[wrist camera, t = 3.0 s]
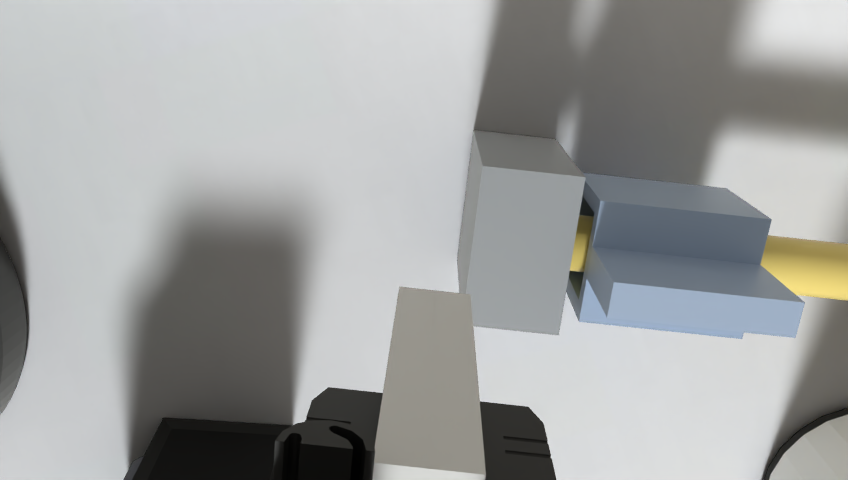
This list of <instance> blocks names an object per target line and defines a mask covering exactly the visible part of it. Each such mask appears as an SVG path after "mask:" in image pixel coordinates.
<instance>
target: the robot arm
mask: <svg viewBox="0 0 848 480" xmlns="http://www.w3.org/2000/svg"><path fill="white" fill-rule="evenodd" d="M26 340H27V323H26V312H25V306H24V300H23V295H22V291H21V287H20V283H19V280H18V277H17V274H16V271H15V268H14V266H13V264H12V261H11V259H10V256H9V254H8V252H7V250H6V248H5V246H4V244H3V242H2V241H1V239H0V415H1V413H2V412H3V411H4V409H5V408H6V406H7V404H8V402H9V401H10V399H11V397H12V395H13V393H14V391H15V389H16V386H17V384H18V381H19V378H20V375H21V371H22V367H23V364H24V358H25V352H26ZM550 456H551V454H550V450H549V445H548V444H547V437H546V432H545V428H544V424H543V422H542V421H541V420H540V419H539V418H538V417H537V416H536V415H535V414H534V413H533V411H532V410H531V409H530V408H529V407H525V406H516V405H506V404H497V403H488V402H480V399H479V387H478V376H477V364H476V352H475V341H474V329H473V317H472V305H471V294H462V293H452V292H443V291H434V290H425V289H416V288H407V287H399V293H398V299H397V306H396V312H395V319H394V325H393V331H392V338H391V344H390V351H389V357H388V364H387V370H386V377H385V383H384V390H383V393H376V392H367V391H358V390H348V389H339V388H330V387H328V388H327V389H326V390H325V391H323V392H322V393H321V394H320V395H318V396H317V397H316V398H314V399H313V400H312V402H311V405H310V408H309V411H308V414H307V418H306V420H305V422H302V423H298V424H295V425H293V426H291V427H289V428H287V429H285V430H283V431H282V432H281V434H280V435H279V436H278V437H277V439H276V440H275V450H274V467H273V480H556V476H555V472H554V467H553V463H552V459H551V458H550Z"/></svg>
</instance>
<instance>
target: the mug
mask: <svg viewBox="0 0 848 480" xmlns="http://www.w3.org/2000/svg"><path fill="white" fill-rule="evenodd" d="M765 480H848V408H847V409H844V410H841V411H838V412H835V413H832V414H829V415H826V416H823V417H821V418H819V419H817V420H815V421H814V422H812V423H810V424H809V425H807V426H805V427H804V428H802V429H800V430H799V431H798V432H797V433H796V434H795V435H794V436H793V437H791V438H790V439H789V440H788V441H787V442H786V443H785V444H784V445H783V446H782V447H781V448H780V450H779V451H778V453H777V455H776V456H775V458H774V459H773V461H772V462H771V464H770V465H769V467H768V470H767V474H766V477H765Z"/></svg>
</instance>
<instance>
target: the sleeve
mask: <svg viewBox="0 0 848 480" xmlns="http://www.w3.org/2000/svg"><path fill="white" fill-rule="evenodd" d="M583 174H584V176H585V177H586V178H585V184H584V190H583V196H582V202H581V208H580V213H579V215H585V216H594V218H593V224H592V230H591V235H590V241H589V246H588V252H587V258H586V263H585V269H584V272H577V271H570V272H569V278H568V283H567V289H566V292H567V294H568V297H569V299H570V302H571V304H572V306H573V309H574V311H575V313H576V316H577V318H578V320H579V322H587V323H597V324H606V325H615V326H625V327H634V328H644V329H653V330H662V331H672V332H681V333H691V334H700V335H709V336H719V337H728V338H738V339H742V337H743V333H744V332H745V333H755V334H764V335H773V336H783V337H792V338H795V337H796V334H797V330H798V326H799V323H800V319H801V315H802V311H803V308H804V304H805V302H803V301H802V300H801V299H800V298H799V297H798V296H796V295H795V294H794V293H793V292H792V291H791V290H789V289H788V288H787V287H786V286H785V285H784V284H782V283H781V282H780V281H779V280H778V279H777V278H775V277H774V276H773V275H772V274H771V273H769V272H768V271H767V270H766V269H765V268H764V267H762V266H761V265H760V264H761V260H762V256H763V252H764V248H765V244H766V240H767V236H768V232H769V228H770V224H771V220H772V219H770V218H769V217H767V216H766V215H765V214H763V213H762V212H760V211H759V210H757V209H756V208H754V207H753V206H751V205H750V204H749V203H747V202H746V201H744V200H743V199H741V198H740V197H738V196H737V195H735V194H734V193H733V192H731V191H730V190H728V189H727V188H718V187H709V186H700V185H691V184H682V183H673V182H663V181H654V180H645V179H636V178H627V177H618V176H609V175H599V174H590V173H583Z"/></svg>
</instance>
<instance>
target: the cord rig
mask: <svg viewBox="0 0 848 480" xmlns="http://www.w3.org/2000/svg"><path fill="white" fill-rule="evenodd" d="M585 178H586V177H585V176H584V174H583V173H582V172H581V171H580V169H579V168H578V167H577V165H576V164H575V163H574V162H573V160H572V159H571V158H570V157H569V155H568V154H567V153H566V152H565V150H564V149H563V148H562V146H561V145H560V144H559V143H558V141H557V140H556V139H550V138H541V137H532V136H523V135H514V134H505V133H496V132H487V131H477V130H474V131H473V139H472V146H471V154H470V162H469V170H468V178H467V186H466V194H465V202H464V210H463V218H462V226H461V233H460V241H459V249H458V257H457V265H458V280H459V293H462V294H471V305H472V317H473V326H476V327H485V328H495V329H504V330H514V331H523V332H532V333H542V334H551V335H559V330H560V324H561V318H562V312H563V307H564V301H565V295H566V289H567V283H568V278H569V272H570V271H577V272H584V269H585V263H586V258H587V252H588V246H589V241H590V235H591V230H592V224H593V218H594V216H585V215H579V213H580V208H581V202H582V196H583V190H584V184H585ZM760 265H761V266H762V267H764V268H765V269H766V270H767V271H768V272H769V273H771V274H772V275H773V276H774V277H775V278H777V279H778V280H779V281H780V282H781V283H782V284H784V285H785V286H786V287H787V288H788V289H789V290H791V291H792V292H793V293H794V294H795V295H801V296H810V297H820V298H829V299H838V300H848V244H844V243H834V242H825V241H816V240H807V239H797V238H788V237H779V236H770V235H768V236H767V240H766V244H765V248H764V252H763V256H762V260H761V264H760Z"/></svg>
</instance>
